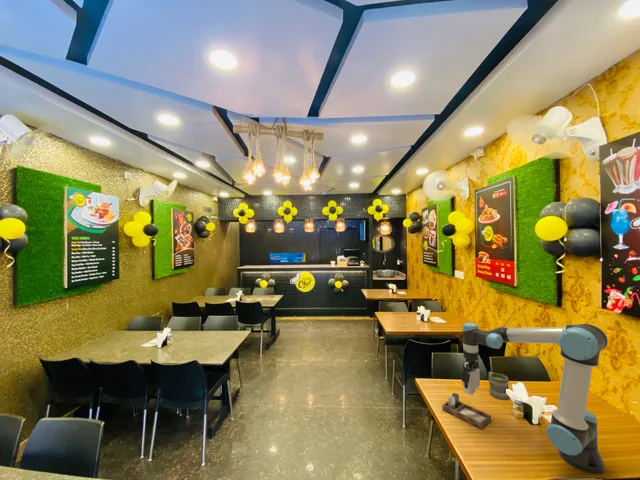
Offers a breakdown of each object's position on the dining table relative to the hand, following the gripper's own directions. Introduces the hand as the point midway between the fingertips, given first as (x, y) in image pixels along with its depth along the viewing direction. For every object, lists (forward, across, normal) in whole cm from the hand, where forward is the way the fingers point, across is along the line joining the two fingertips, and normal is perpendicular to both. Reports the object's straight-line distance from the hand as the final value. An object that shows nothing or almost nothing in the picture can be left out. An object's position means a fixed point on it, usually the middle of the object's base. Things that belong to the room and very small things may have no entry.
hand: (471, 390), depth 155 cm
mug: (+16, -40, -2) cm, 43 cm away
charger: (+3, 0, 0) cm, 3 cm away
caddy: (+16, 0, -3) cm, 16 cm away
